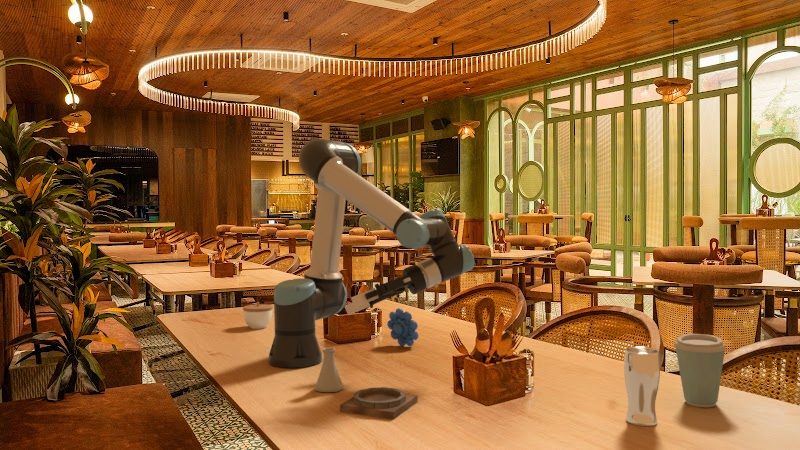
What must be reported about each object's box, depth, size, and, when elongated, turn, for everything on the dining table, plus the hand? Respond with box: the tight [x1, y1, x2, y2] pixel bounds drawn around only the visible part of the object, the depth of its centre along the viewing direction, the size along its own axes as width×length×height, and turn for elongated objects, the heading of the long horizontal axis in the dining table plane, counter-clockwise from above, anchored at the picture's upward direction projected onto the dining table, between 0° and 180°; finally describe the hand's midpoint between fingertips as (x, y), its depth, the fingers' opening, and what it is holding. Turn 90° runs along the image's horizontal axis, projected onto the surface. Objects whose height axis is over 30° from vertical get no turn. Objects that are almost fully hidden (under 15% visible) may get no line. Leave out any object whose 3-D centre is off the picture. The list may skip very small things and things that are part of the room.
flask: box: [314, 347, 344, 393], centre depth 160 cm, size 7×7×10 cm
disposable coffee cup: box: [673, 333, 727, 408], centre depth 147 cm, size 11×11×15 cm
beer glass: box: [623, 346, 661, 427], centre depth 135 cm, size 7×7×15 cm
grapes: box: [386, 307, 419, 347], centre depth 207 cm, size 12×7×12 cm, turn 56°
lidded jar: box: [242, 301, 274, 330], centre depth 240 cm, size 11×11×9 cm
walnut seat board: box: [339, 386, 418, 420], centre depth 146 cm, size 13×13×3 cm
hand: (349, 306), depth 170 cm, fingers open, 13 cm apart
